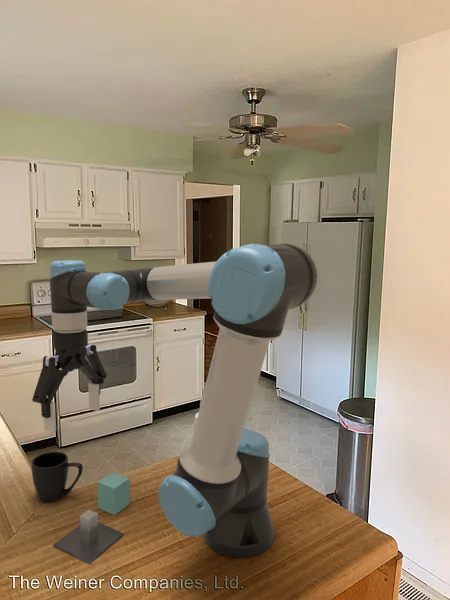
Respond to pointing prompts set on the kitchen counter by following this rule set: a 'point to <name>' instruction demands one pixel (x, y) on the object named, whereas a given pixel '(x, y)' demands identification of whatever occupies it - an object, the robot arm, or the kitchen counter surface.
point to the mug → (52, 475)
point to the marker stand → (88, 538)
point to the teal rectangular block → (113, 493)
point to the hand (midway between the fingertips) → (73, 419)
